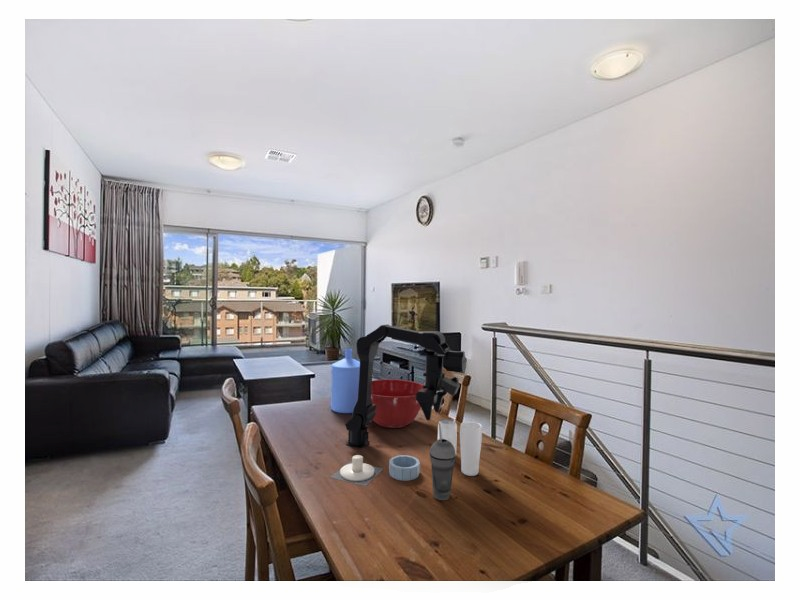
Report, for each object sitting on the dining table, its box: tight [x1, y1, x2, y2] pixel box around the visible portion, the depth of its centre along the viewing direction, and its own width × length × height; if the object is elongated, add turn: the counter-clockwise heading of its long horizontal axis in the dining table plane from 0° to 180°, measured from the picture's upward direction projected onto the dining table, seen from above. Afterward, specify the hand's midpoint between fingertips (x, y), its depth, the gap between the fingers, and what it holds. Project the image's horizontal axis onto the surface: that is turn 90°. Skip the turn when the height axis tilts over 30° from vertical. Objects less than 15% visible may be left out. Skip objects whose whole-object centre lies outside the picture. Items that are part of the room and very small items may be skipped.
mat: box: [329, 460, 384, 487], centre depth 119 cm, size 12×12×1 cm
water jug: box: [330, 348, 360, 414], centre depth 183 cm, size 16×16×28 cm
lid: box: [339, 454, 374, 481], centre depth 119 cm, size 10×10×5 cm
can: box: [437, 418, 458, 455], centre depth 133 cm, size 6×6×12 cm
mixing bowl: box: [371, 378, 427, 429], centre depth 165 cm, size 28×28×15 cm
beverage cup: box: [429, 422, 457, 501], centre depth 107 cm, size 7×7×20 cm
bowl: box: [388, 454, 421, 482], centre depth 119 cm, size 9×9×4 cm
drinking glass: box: [459, 421, 483, 477], centre depth 121 cm, size 7×7×15 cm
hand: (432, 416), depth 130 cm, fingers open, 9 cm apart
